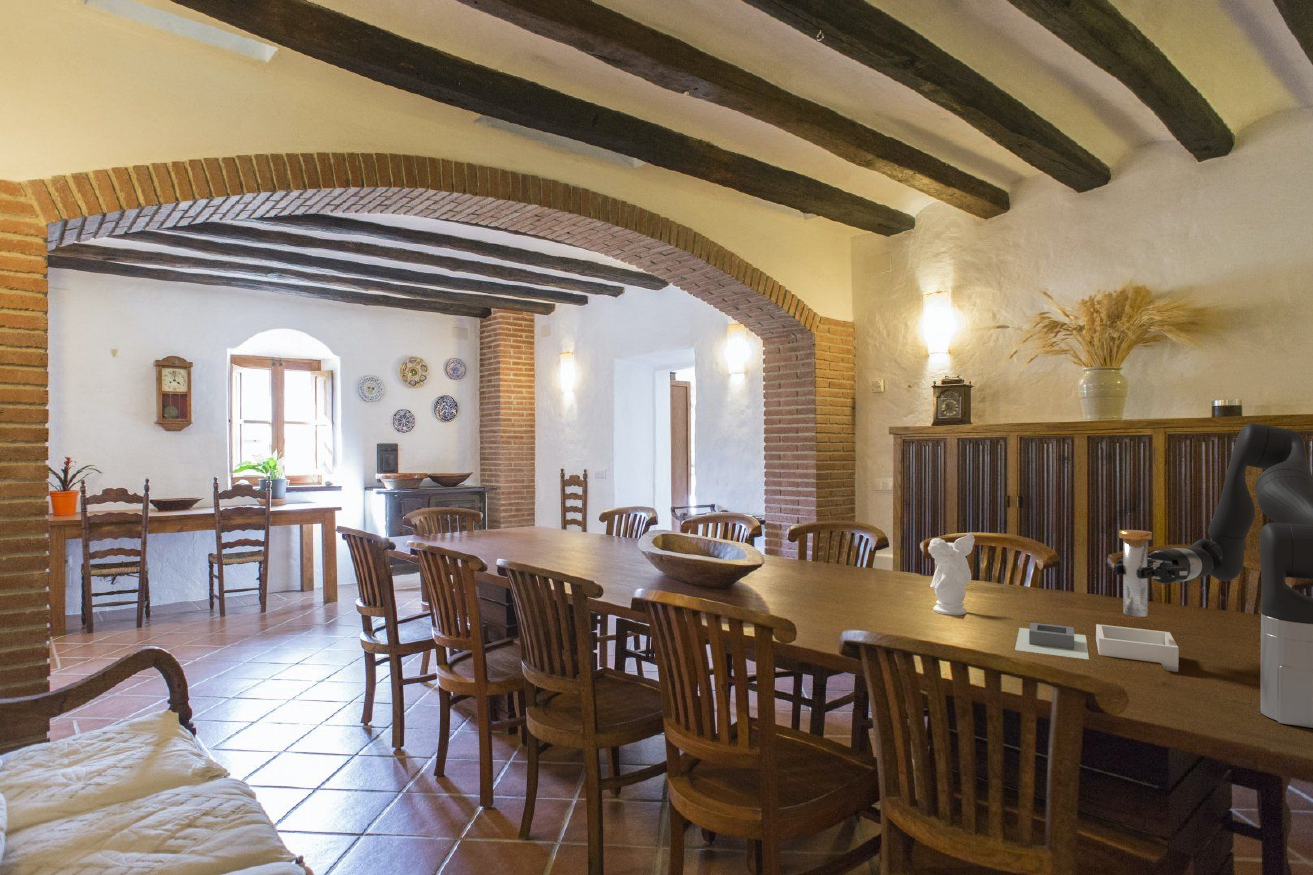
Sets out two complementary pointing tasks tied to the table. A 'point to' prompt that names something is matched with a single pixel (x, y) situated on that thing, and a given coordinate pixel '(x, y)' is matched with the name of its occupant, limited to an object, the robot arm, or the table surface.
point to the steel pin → (1134, 571)
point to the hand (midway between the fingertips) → (1127, 571)
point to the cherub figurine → (951, 573)
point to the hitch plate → (1052, 641)
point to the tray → (1138, 645)
